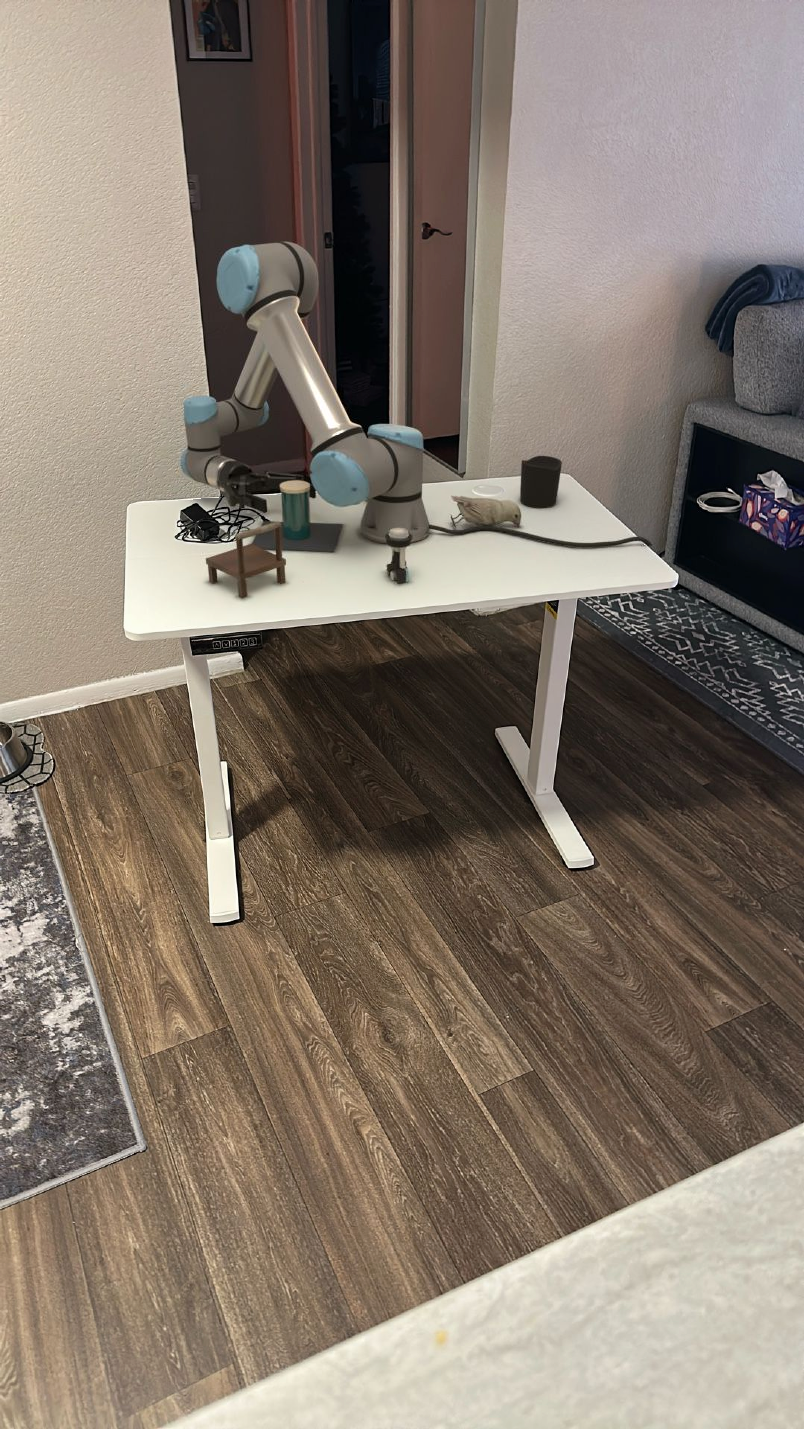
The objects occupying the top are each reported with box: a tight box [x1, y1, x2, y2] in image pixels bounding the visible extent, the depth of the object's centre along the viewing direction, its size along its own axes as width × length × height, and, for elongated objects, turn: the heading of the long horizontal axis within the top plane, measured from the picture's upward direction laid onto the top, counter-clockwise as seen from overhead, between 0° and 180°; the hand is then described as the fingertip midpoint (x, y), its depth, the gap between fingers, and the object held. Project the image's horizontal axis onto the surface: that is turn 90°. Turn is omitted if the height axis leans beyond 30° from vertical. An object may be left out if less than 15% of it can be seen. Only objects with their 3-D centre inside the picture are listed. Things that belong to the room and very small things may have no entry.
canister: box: [279, 480, 311, 540], centre depth 205 cm, size 6×6×11 cm
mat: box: [251, 520, 344, 553], centre depth 208 cm, size 18×16×1 cm
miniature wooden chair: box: [205, 520, 287, 599], centre depth 184 cm, size 11×11×13 cm
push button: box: [385, 528, 413, 585], centre depth 187 cm, size 7×5×10 cm
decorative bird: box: [449, 495, 522, 530], centre depth 212 cm, size 5×16×8 cm, turn 94°
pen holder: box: [519, 455, 563, 509], centre depth 227 cm, size 9×9×10 cm
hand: (290, 499), depth 205 cm, fingers open, 13 cm apart
